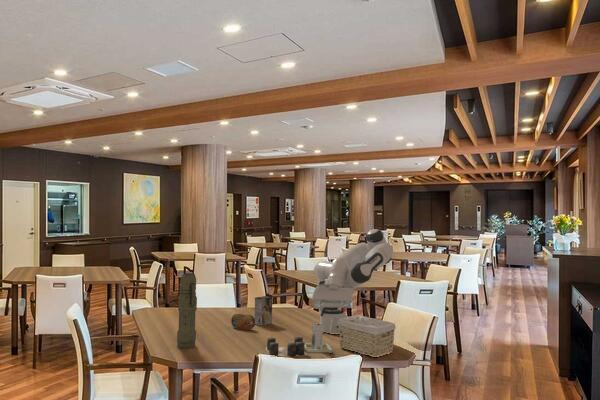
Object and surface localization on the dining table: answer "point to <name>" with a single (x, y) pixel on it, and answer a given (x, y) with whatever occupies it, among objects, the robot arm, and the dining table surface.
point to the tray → (319, 350)
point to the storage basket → (366, 335)
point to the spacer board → (286, 348)
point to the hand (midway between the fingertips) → (329, 309)
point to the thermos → (187, 311)
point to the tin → (243, 321)
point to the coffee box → (263, 310)
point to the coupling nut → (317, 336)
